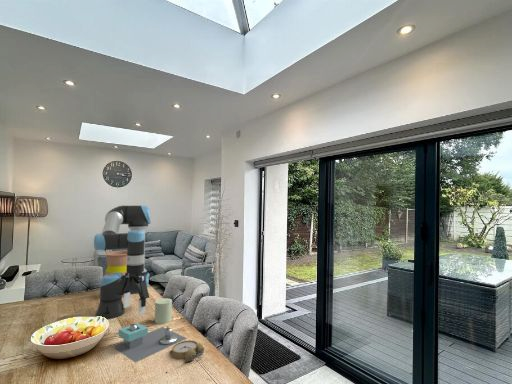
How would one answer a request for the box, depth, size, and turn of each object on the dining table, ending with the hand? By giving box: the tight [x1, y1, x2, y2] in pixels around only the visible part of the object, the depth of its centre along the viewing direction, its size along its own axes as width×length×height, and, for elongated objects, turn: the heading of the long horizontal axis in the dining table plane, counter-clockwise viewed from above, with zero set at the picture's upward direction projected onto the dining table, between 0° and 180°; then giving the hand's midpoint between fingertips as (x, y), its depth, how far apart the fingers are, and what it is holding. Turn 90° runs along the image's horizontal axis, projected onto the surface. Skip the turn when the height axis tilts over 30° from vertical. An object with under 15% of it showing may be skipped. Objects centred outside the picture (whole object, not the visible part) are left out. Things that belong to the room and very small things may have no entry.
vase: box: [103, 249, 128, 298], centre depth 201 cm, size 22×22×30 cm
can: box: [154, 297, 173, 325], centre depth 153 cm, size 9×9×12 cm
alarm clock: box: [169, 340, 205, 362], centre depth 119 cm, size 11×5×15 cm
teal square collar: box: [118, 322, 149, 342], centre depth 127 cm, size 9×9×3 cm
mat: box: [112, 326, 188, 363], centre depth 128 cm, size 20×26×1 cm
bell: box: [159, 325, 177, 345], centre depth 130 cm, size 8×8×6 cm
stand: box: [122, 323, 143, 349], centre depth 127 cm, size 6×6×8 cm
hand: (134, 310), depth 127 cm, fingers open, 13 cm apart
